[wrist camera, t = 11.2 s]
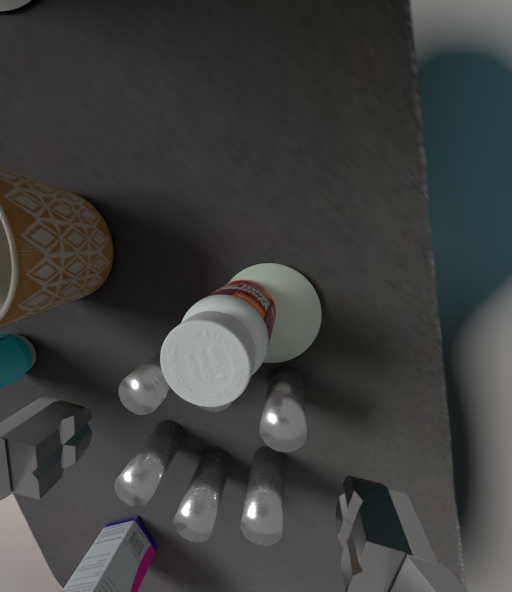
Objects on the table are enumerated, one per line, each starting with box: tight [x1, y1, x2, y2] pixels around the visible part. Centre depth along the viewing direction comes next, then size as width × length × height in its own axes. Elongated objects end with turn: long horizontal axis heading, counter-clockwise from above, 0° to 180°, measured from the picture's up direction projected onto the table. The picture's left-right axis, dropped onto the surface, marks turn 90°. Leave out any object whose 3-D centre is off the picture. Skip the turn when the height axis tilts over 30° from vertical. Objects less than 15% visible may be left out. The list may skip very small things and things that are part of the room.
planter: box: [0, 167, 113, 327], centre depth 21 cm, size 13×13×10 cm
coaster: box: [229, 263, 322, 363], centre depth 24 cm, size 10×10×1 cm
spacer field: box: [115, 350, 307, 546], centre depth 24 cm, size 18×16×7 cm
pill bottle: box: [160, 279, 276, 407], centre depth 19 cm, size 6×6×11 cm
